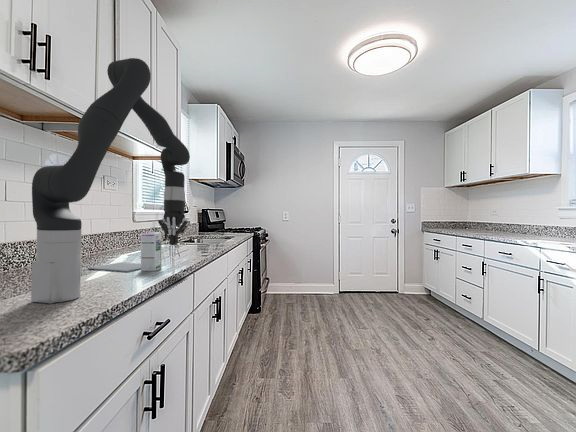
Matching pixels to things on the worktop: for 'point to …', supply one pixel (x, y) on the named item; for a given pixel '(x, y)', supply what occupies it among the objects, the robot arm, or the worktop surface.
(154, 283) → the worktop surface
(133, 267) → the mat
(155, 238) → the syrup box
